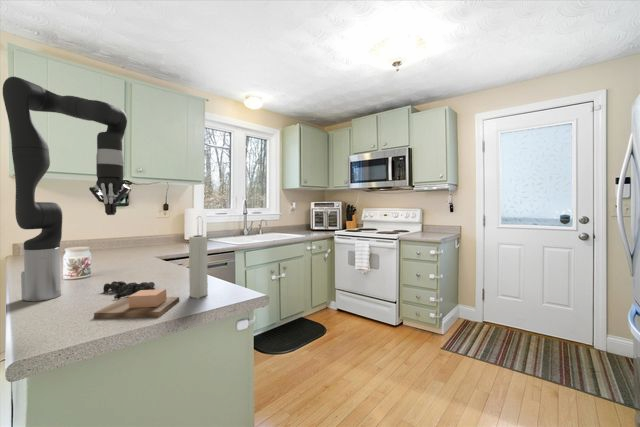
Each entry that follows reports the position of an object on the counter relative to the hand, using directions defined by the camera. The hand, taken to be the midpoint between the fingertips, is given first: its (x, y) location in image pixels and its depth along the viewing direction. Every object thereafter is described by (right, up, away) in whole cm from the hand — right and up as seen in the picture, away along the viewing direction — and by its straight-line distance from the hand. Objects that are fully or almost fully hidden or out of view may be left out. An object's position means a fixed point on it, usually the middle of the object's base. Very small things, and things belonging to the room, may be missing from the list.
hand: (110, 214), depth 102 cm
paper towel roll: (+28, -29, +4) cm, 40 cm away
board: (+16, -29, -9) cm, 34 cm away
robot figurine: (+1, -29, +9) cm, 31 cm away
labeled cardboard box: (+14, -26, -10) cm, 31 cm away
